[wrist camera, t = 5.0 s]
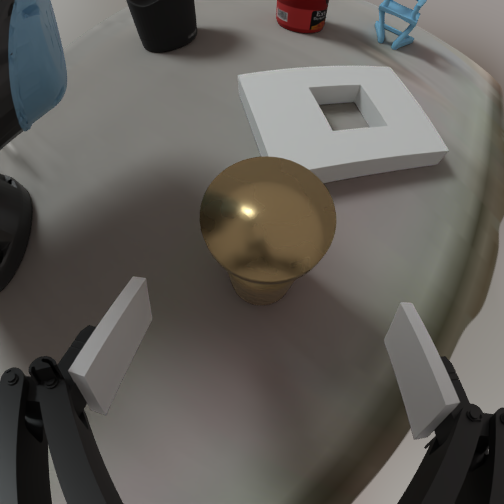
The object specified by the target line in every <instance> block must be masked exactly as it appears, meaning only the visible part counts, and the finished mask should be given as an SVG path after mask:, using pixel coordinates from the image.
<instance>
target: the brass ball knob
mask: <svg viewBox="0 0 504 504" xmlns="http://www.w3.org/2000/svg"><path fill="white" fill-rule="evenodd" d="M200 226H201V231H202V235H203V238H204V240H205V242H206V244H207V247H208V249H209V251H210V252H211V254H212V256H213V257H214V259H215V260H216V261H217V262H218V263H219V264H220V265H221V266H222V267H223V268H224V269H225V270H226V271H228V274H229V277H230V279H231V282H232V285H233V287H234V290H235V291H236V293H237V294H238V295H239V296H240V297H241V298H242V299H243V300H245V301H246V302H248V303H251V304H254V305H269V304H272V303H275V302H277V301H278V300H280V299H281V298H282V297H283V296H284V295H285V294H286V293H287V291H288V289H289V288H290V286H291V285H292V283H293V282H294V280H295V279H297V278H299V277H301V276H303V275H305V274H306V273H307V272H309V271H310V270H311V269H312V268H314V267H315V266H316V265H317V264H318V262H319V261H320V260H321V259H322V257H323V256H324V255H325V254H326V252H327V250H328V249H329V247H330V245H331V243H332V240H333V238H334V234H335V229H336V212H335V206H334V203H333V200H332V197H331V195H330V193H329V191H328V190H327V188H326V187H325V185H324V184H323V183H322V181H321V180H320V179H319V178H318V177H317V176H316V175H315V174H314V173H312V172H311V171H310V170H308V169H307V168H305V167H304V166H302V165H300V164H298V163H296V162H293V161H291V160H287V159H284V158H278V157H268V156H266V157H255V158H249V159H246V160H242V161H240V162H237V163H235V164H233V165H231V166H230V167H228V168H227V169H225V170H224V171H222V172H221V173H220V174H219V175H218V176H217V177H216V178H215V179H214V180H213V181H212V183H211V184H210V186H209V187H208V189H207V190H206V193H205V195H204V197H203V200H202V203H201V209H200Z"/></svg>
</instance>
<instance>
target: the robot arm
mask: <svg viewBox="0 0 504 504" xmlns="http://www.w3.org/2000/svg"><path fill="white" fill-rule="evenodd" d="M66 87H67V70H66V64H65V58H64V53H63V48H62V44H61V39H60V35H59V31H58V27H57V22H56V19H55V15H54V11H53V8H52V4H51V1H50V0H0V150H1V149H2V148H3V147H4V146H5V145H7V144H8V143H9V142H10V141H11V140H13V139H14V138H15V137H16V136H18V135H19V134H20V133H21V132H23V131H27V130H29V129H30V127H31V126H32V124H33V123H34V122H35V121H37V120H38V119H39V118H40V117H42V116H43V115H44V114H46V113H47V112H48V111H50V110H51V109H52V108H54V107H55V106H56V105H57V104H58V103H59V102H60V101H61V99H62V98H63V96H64V94H65V91H66ZM31 221H32V206H31V200H30V196H29V194H28V192H27V190H26V189H25V188H24V187H23V186H22V185H21V184H20V183H19V182H17V181H16V180H15V179H13V178H12V177H9V176H6V175H2V174H0V291H1V290H2V289H3V288H4V287H5V286H6V285H7V284H8V282H9V281H10V280H11V278H12V277H13V275H14V273H15V272H16V270H17V268H18V266H19V264H20V262H21V259H22V257H23V254H24V252H25V249H26V246H27V242H28V238H29V234H30V229H31ZM152 320H153V318H152V312H151V307H150V300H149V294H148V287H147V280H146V278H142V277H135V276H133V277H132V278H131V280H130V281H129V282H128V284H127V285H126V286H125V288H124V289H123V290H122V292H121V293H120V294H119V296H118V297H117V299H116V300H115V301H114V303H113V304H112V306H111V307H110V308H109V310H108V311H107V313H106V314H105V316H104V317H103V318H102V320H101V321H100V323H99V324H98V326H97V327H94V326H90V325H89V326H87V327H86V328H85V329H83V330H82V331H81V332H80V333H79V334H78V336H77V337H76V339H75V341H74V342H73V343H72V344H71V347H69V349H68V350H67V352H66V353H65V355H64V356H63V358H62V359H61V361H60V362H59V364H58V365H57V364H56V362H55V360H54V359H52V358H51V357H48V356H43V357H39V358H37V359H35V360H34V361H33V362H32V363H31V365H30V367H29V374H30V375H31V377H30V376H25V375H24V374H23V372H22V370H20V369H19V368H10V369H8V370H6V371H5V372H4V373H3V375H2V377H1V380H0V504H52V500H51V491H50V480H49V465H48V445H49V449H50V453H51V457H52V460H53V464H54V467H55V470H56V474H57V477H58V480H59V483H60V486H61V488H62V491H63V494H64V497H65V499H66V502H67V504H123V502H122V500H121V498H120V496H119V494H118V492H117V490H116V488H115V486H114V484H113V482H112V480H111V478H110V475H109V473H108V471H107V469H106V466H105V464H104V462H103V459H102V457H101V454H100V452H99V449H98V447H97V444H96V441H95V439H94V436H93V433H92V430H91V428H90V425H89V422H88V419H87V416H86V413H85V411H84V408H85V406H86V404H88V406H89V408H90V409H91V410H92V411H95V412H97V413H100V414H103V415H106V414H107V412H108V410H109V408H110V405H111V403H112V401H113V399H114V397H115V395H116V392H117V390H118V388H119V386H120V384H121V382H122V380H123V378H124V376H125V373H126V371H127V369H128V367H129V365H130V363H131V361H132V359H133V357H134V355H135V353H136V351H137V349H138V347H139V345H140V343H141V341H142V339H143V337H144V335H145V333H146V331H147V329H148V327H149V325H150V323H151V321H152ZM384 343H385V346H386V349H387V351H388V354H389V357H390V360H391V363H392V366H393V369H394V372H395V375H396V379H397V382H398V385H399V388H400V391H401V395H402V398H403V401H404V405H405V408H406V412H407V415H408V419H409V423H410V427H411V430H412V434H413V438H414V439H420V438H425V437H428V436H429V435H430V434H431V433H432V432H433V431H435V434H436V436H435V437H434V438H433V439H432V440H431V441H430V442H429V443H428V444H427V445H426V446H425V447H424V448H425V449H426V448H427V447H428V446H429V445H430V446H429V448H428V450H427V453H426V454H425V456H424V459H423V460H422V462H421V464H420V466H419V468H418V470H417V472H416V474H415V475H414V477H413V479H412V481H411V482H410V484H409V486H408V487H407V489H406V491H405V492H404V494H403V496H402V497H401V499H400V500H399V502H398V503H397V504H504V408H500V409H498V410H497V411H496V412H495V413H494V414H487V413H483V412H482V410H481V409H480V408H479V407H478V406H477V405H474V404H470V403H469V401H468V398H467V396H466V393H465V391H464V389H463V387H462V384H461V382H460V380H459V378H458V376H457V374H456V372H455V369H454V367H453V365H452V363H451V362H450V361H449V360H448V359H447V358H446V357H445V356H444V357H440V356H439V354H438V352H437V349H436V347H435V345H434V343H433V341H432V339H431V337H430V335H429V333H428V332H427V330H426V328H425V326H424V324H423V322H422V320H421V318H420V316H419V315H418V313H417V311H416V309H415V307H414V305H413V304H412V303H408V302H400V304H399V306H398V309H397V311H396V313H395V316H394V318H393V320H392V323H391V325H390V327H389V330H388V332H387V334H386V336H385V338H384ZM488 449H489V452H488Z"/></svg>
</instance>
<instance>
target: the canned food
mask: <svg viewBox="0 0 504 504" xmlns="http://www.w3.org/2000/svg"><path fill="white" fill-rule="evenodd" d="M328 2H329V0H277V13H276V19H277V22H278V24H279V25H280V26H282V27H283V28H285V29H288V30H291V31H294V32H300V33H315V32H319V31H320V30H322V28H323V27H324V24H325V18H326V13H327V8H328Z"/></svg>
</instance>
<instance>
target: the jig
mask: <svg viewBox="0 0 504 504" xmlns="http://www.w3.org/2000/svg"><path fill="white" fill-rule="evenodd" d="M238 88H239V96H240V99H241V101H242V104H243V107H244V109H245V112H246V115H247V118H248V121H249V123H250V126H251V129H252V132H253V135H254V138H255V140H256V143H257V146H258V149H259V152H260V155H261V157H266V156H268V157H278V158H284V159H287V160H291V161H293V162H296V163H298V164H300V165H302V166H304V167H305V168H307V169H308V170H310V171H311V172H312V173H314V174H315V175H316V176H317V177H318V178H319V179H320V180H321V181H322V183H327V182H333V181H338V180H343V179H349V178H354V177H360V176H366V175H372V174H378V173H384V172H390V171H397V170H403V169H410V168H417V167H424V166H431V165H437V164H438V163H439V162H440V160H441V159H442V158H443V157H444V156H445V155H446V154H447V152H448V151H449V150H448V148H447V147H446V145H445V143H444V142H443V140H442V138H441V137H440V135H439V133H438V132H437V130H436V129H435V127H434V126H433V124H432V123H431V121H430V120H429V118H428V117H427V115H426V114H425V112H424V111H423V109H422V108H421V106H420V105H419V104H418V102H417V101H416V99H415V98H414V97H413V95H412V94H411V93H410V91H409V90H408V89H407V87H406V86H405V85H404V84H403V82H402V81H401V80H400V79H399V77H398V76H397V75H396V74H395V72H394V71H393V70H392V69H391V68H390V67H381V66H318V67H302V68H289V69H279V70H270V71H262V72H255V73H248V74H242V75H238ZM348 102H355V104H356V106H357V107H358V109H359V110H360V112H361V114H362V115H363V117H364V118H365V120H366V122H367V123H368V125H369V127H368V128H357V129H347V130H339V131H332V129H331V127H330V125H329V123H328V121H327V119H326V117H325V116H324V114H323V112H322V110H321V108H320V107H319V105H322V104H334V103H348Z"/></svg>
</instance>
